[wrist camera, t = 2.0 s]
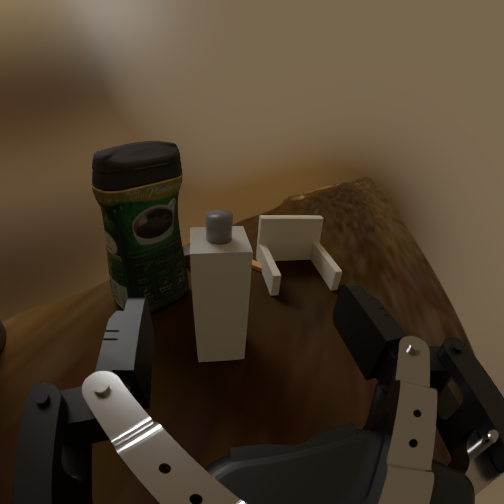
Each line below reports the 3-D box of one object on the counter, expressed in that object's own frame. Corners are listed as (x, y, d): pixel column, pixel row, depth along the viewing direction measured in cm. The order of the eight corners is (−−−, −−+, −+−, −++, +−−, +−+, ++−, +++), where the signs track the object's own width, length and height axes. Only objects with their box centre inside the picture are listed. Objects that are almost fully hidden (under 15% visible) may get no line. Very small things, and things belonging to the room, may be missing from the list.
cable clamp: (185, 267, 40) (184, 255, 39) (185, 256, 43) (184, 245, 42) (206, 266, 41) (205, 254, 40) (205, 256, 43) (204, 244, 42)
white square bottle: (198, 362, 26) (188, 227, 19) (196, 330, 29) (189, 205, 23) (244, 358, 26) (254, 226, 20) (237, 327, 30) (244, 204, 23)
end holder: (270, 295, 36) (276, 246, 32) (256, 257, 44) (259, 215, 40) (337, 289, 37) (349, 244, 34) (313, 255, 46) (320, 215, 42)
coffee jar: (165, 267, 39) (158, 135, 30) (198, 294, 35) (196, 140, 26) (105, 292, 33) (81, 148, 24) (131, 327, 29) (102, 154, 20)
